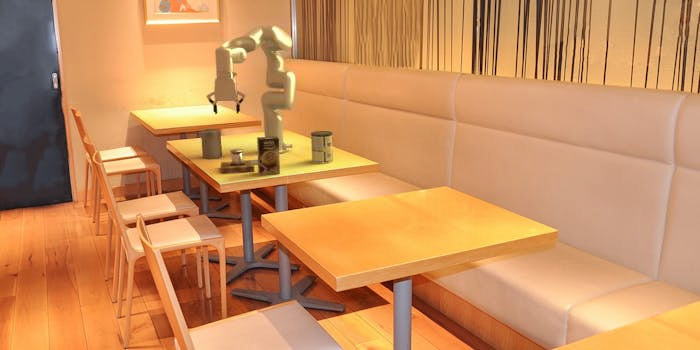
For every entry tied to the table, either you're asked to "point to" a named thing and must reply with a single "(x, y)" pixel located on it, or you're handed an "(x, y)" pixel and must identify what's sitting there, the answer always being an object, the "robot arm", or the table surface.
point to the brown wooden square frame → (237, 167)
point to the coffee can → (321, 147)
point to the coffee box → (268, 155)
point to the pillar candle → (211, 143)
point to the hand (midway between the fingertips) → (226, 113)
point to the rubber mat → (253, 161)
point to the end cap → (236, 157)
